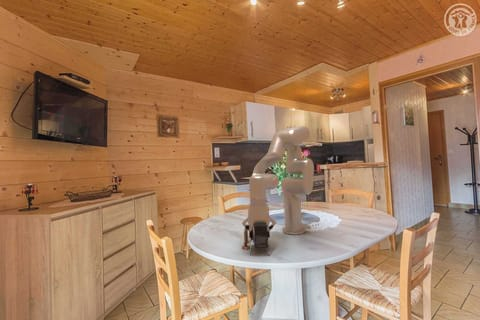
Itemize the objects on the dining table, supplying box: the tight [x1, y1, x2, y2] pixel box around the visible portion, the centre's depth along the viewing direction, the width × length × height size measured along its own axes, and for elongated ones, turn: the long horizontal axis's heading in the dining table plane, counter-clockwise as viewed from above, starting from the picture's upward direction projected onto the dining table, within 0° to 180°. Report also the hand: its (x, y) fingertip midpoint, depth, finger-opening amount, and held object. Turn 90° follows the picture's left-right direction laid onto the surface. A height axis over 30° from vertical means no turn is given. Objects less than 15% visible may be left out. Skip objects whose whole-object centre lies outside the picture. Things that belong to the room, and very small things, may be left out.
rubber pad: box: [249, 244, 271, 257], centre depth 108 cm, size 9×11×1 cm
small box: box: [251, 223, 269, 248], centre depth 108 cm, size 11×6×10 cm, turn 4°
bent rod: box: [241, 224, 251, 251], centre depth 118 cm, size 5×17×9 cm, turn 156°
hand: (259, 238), depth 108 cm, fingers closed on small box, 6 cm apart
